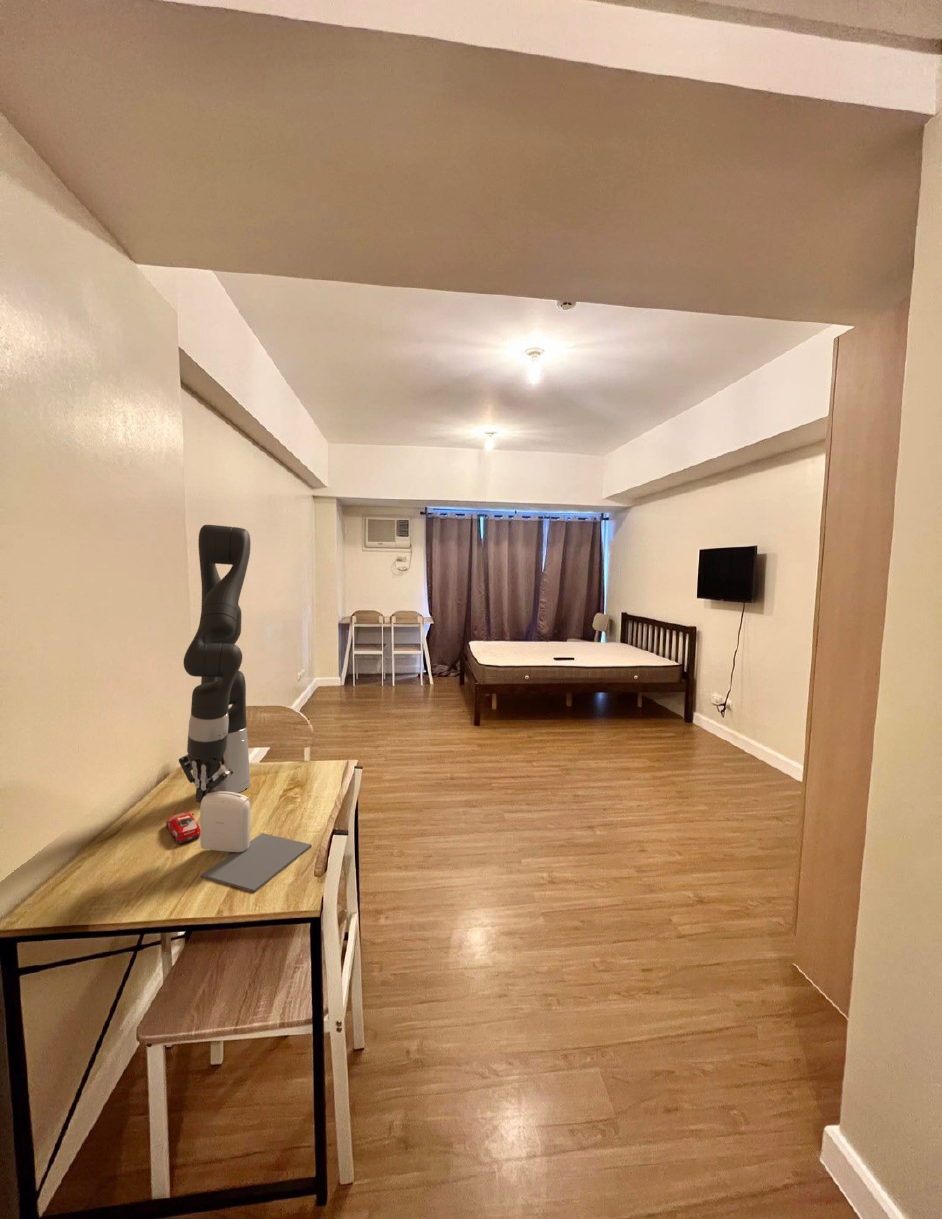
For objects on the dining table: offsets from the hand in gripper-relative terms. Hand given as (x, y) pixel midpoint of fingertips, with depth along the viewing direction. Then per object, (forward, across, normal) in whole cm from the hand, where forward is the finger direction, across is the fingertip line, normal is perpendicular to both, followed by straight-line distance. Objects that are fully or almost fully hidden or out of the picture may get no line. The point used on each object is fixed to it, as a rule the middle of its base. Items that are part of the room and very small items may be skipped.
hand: (203, 801), depth 107 cm
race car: (+12, -7, +2) cm, 14 cm away
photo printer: (+7, +8, -2) cm, 11 cm away
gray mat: (+6, +18, -3) cm, 19 cm away
